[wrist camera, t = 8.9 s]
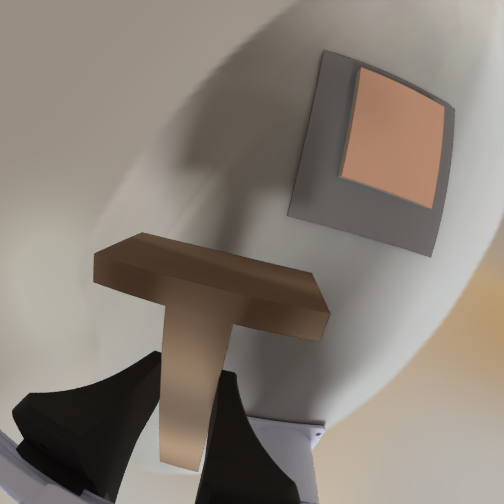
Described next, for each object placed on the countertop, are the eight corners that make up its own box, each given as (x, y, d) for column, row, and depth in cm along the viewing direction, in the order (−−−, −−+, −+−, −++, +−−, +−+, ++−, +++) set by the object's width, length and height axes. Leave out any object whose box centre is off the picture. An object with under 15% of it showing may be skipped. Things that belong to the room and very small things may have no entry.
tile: (431, 208, 15) (444, 107, 14) (341, 175, 15) (361, 67, 14) (422, 207, 16) (436, 110, 15) (336, 177, 16) (356, 74, 15)
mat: (427, 255, 18) (430, 257, 17) (286, 215, 17) (287, 216, 17) (451, 110, 15) (454, 108, 14) (323, 53, 15) (324, 50, 14)
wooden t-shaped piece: (252, 433, 17) (248, 481, 12) (136, 402, 17) (114, 443, 12) (311, 272, 13) (330, 313, 9) (142, 232, 13) (94, 253, 9)
